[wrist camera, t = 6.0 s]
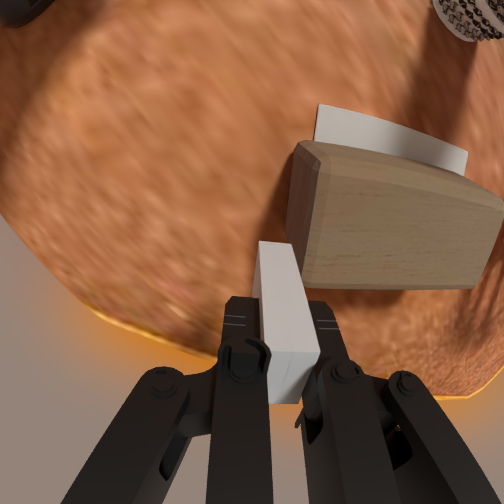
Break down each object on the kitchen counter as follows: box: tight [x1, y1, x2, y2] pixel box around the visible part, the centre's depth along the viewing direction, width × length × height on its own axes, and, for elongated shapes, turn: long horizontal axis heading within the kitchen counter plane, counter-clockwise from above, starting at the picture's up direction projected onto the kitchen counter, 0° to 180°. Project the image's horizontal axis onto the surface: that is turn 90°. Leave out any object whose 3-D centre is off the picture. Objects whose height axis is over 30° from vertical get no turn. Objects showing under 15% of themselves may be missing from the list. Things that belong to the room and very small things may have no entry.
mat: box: [314, 104, 468, 176], centre depth 27 cm, size 18×20×1 cm
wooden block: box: [285, 140, 504, 290], centre depth 22 cm, size 10×10×20 cm
